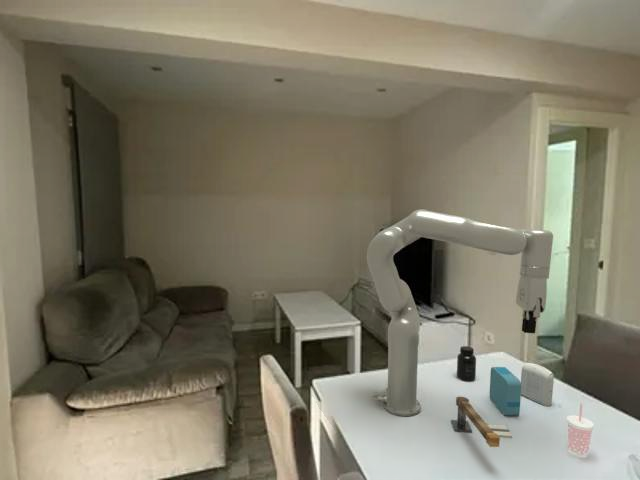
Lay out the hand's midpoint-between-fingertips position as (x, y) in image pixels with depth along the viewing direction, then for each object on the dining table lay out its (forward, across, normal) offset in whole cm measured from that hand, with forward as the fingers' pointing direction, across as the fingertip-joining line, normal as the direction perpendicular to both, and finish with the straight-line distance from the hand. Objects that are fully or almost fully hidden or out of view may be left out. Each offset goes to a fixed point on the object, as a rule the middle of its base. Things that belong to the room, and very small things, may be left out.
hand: (528, 332), depth 115 cm
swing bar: (+23, +12, -16) cm, 31 cm away
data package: (+30, -11, -1) cm, 32 cm away
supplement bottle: (+30, -32, -8) cm, 45 cm away
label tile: (+30, +4, -8) cm, 31 cm away
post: (+30, +4, -18) cm, 35 cm away
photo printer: (+30, -18, +12) cm, 37 cm away
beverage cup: (+30, +11, +12) cm, 34 cm away
